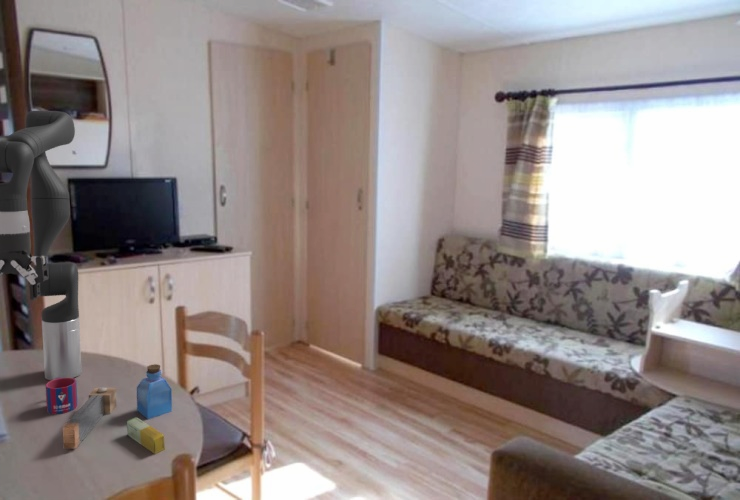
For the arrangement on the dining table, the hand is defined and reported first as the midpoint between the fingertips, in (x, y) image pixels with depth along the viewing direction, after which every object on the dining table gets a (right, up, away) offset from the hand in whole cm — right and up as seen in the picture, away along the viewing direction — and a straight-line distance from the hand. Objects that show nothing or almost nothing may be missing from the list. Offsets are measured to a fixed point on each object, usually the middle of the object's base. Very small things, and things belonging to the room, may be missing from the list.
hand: (14, 298), depth 122 cm
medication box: (+31, -33, -2) cm, 46 cm away
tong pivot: (+15, -29, +11) cm, 35 cm away
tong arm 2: (+17, -31, +1) cm, 35 cm away
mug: (+4, -29, +13) cm, 32 cm away
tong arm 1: (+15, -31, +1) cm, 35 cm away
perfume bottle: (+27, -30, +12) cm, 43 cm away
